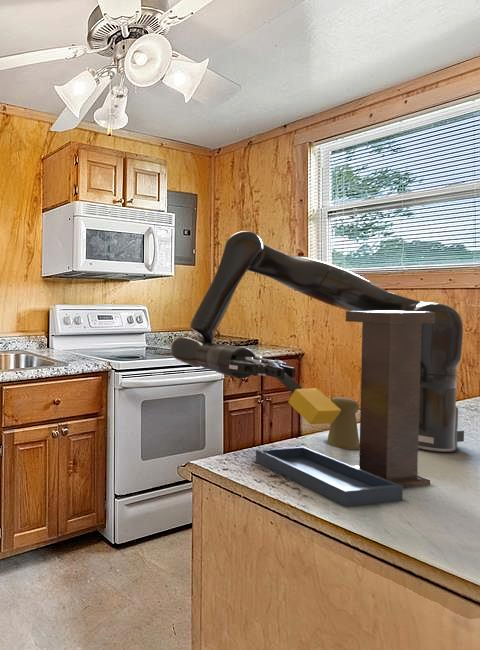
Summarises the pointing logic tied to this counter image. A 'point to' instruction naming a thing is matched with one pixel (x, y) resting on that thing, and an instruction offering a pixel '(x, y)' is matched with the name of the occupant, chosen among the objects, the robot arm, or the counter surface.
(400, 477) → the wooden pedestal stand
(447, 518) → the counter surface
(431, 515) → the counter surface
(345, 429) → the cork
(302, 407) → the sponge brush
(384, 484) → the tray
